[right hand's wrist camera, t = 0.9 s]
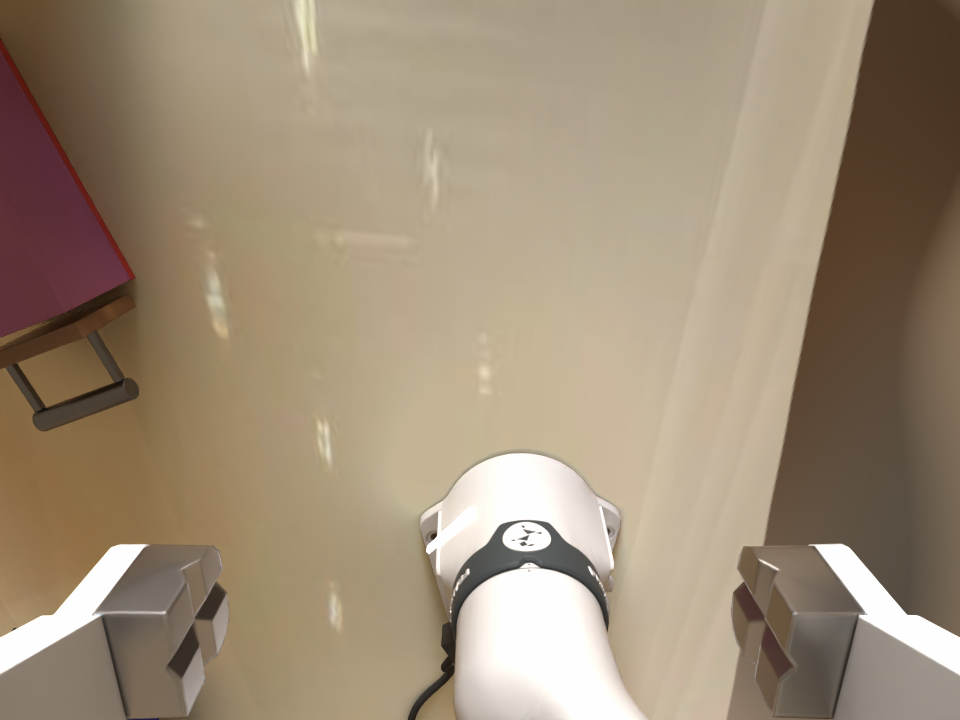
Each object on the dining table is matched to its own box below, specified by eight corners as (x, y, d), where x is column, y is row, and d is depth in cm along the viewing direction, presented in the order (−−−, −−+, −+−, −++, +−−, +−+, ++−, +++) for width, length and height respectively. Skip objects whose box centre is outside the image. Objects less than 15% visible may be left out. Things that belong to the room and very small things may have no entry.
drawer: (172, 369, 57) (127, 409, 50) (82, 402, 58) (24, 446, 51) (3, 74, 49) (-82, 69, 41) (-99, 119, 50) (-199, 122, 42)
